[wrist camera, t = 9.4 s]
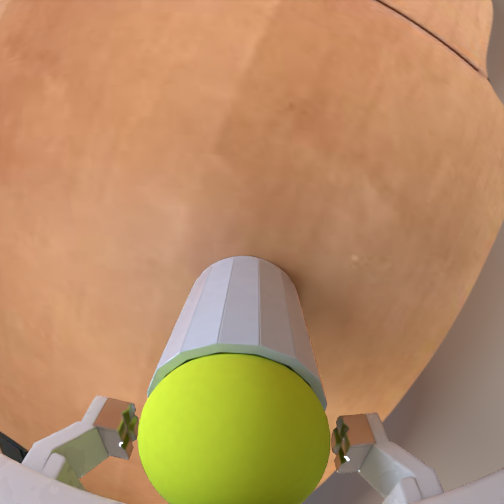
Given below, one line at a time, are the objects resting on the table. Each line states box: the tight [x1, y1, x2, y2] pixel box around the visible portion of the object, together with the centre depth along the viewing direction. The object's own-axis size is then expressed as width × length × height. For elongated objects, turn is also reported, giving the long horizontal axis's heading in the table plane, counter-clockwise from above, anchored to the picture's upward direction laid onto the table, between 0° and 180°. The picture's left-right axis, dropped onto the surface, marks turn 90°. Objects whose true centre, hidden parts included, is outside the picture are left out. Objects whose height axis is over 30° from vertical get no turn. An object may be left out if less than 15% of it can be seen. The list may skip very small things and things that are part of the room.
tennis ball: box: [138, 352, 330, 504], centre depth 9 cm, size 7×7×7 cm
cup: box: [147, 256, 327, 411], centre depth 15 cm, size 7×7×9 cm
